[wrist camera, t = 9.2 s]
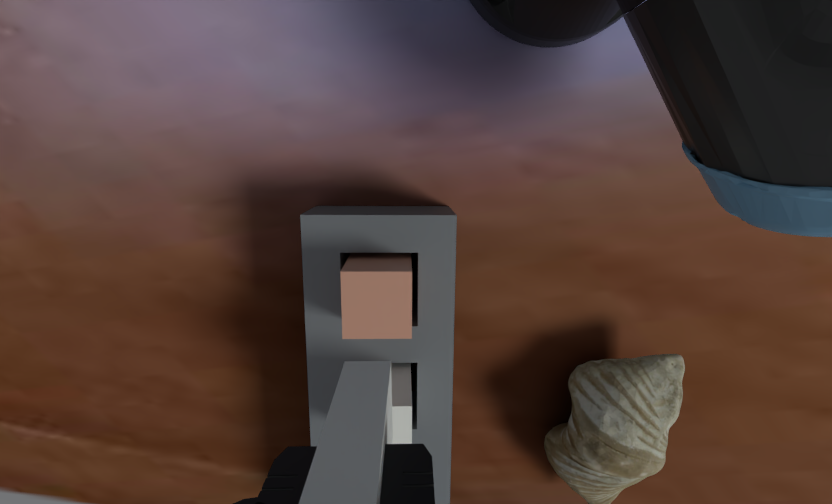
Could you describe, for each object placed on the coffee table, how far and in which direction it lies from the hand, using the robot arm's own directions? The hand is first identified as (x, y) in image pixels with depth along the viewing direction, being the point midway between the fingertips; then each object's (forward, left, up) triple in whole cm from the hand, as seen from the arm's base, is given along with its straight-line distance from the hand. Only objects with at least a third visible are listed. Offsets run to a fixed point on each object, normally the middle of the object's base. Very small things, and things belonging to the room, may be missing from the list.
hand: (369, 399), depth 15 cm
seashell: (+15, +18, -25) cm, 34 cm away
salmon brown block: (+2, -1, -22) cm, 22 cm away
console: (+10, -1, -25) cm, 27 cm away
